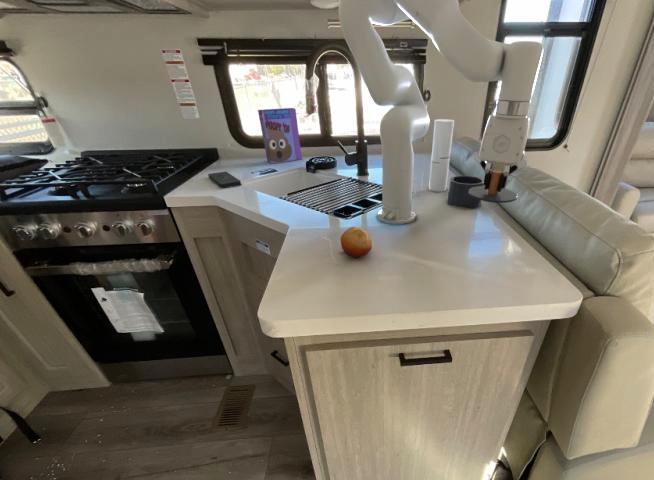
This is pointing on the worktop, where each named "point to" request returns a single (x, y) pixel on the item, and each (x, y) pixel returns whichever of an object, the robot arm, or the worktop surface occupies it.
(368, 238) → the fruit
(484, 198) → the lid
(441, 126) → the white tall block
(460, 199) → the pot
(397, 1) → the robot arm
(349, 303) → the worktop surface
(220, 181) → the smart home device
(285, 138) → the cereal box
